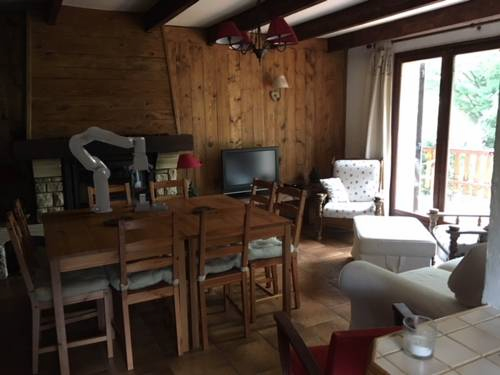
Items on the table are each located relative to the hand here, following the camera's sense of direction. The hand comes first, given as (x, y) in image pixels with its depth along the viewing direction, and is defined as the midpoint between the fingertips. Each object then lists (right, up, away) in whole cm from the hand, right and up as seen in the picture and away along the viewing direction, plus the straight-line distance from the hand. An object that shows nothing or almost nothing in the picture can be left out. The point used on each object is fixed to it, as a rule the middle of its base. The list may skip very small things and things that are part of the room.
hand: (141, 177), depth 315 cm
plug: (0, -21, +3) cm, 22 cm away
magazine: (-4, -21, +22) cm, 31 cm away
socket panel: (+6, -24, +5) cm, 25 cm away
